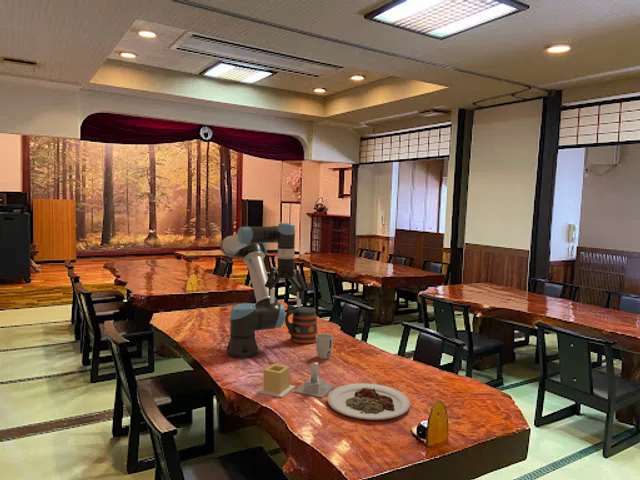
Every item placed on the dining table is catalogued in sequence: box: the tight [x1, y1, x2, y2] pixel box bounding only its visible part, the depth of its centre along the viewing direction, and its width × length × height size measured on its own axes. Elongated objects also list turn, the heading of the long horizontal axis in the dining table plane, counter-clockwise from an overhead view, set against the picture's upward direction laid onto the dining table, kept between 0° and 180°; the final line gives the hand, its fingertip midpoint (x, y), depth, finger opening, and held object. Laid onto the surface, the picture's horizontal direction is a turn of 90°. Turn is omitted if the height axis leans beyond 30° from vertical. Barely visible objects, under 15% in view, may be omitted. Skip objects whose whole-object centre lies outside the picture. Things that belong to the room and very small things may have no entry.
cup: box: [315, 333, 334, 360], centre depth 222 cm, size 8×8×10 cm
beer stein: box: [284, 304, 319, 345], centre depth 247 cm, size 19×15×20 cm
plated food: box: [327, 382, 411, 421], centre depth 172 cm, size 30×30×3 cm
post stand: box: [293, 361, 335, 399], centre depth 184 cm, size 12×12×11 cm
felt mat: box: [256, 384, 297, 399], centre depth 183 cm, size 11×11×1 cm
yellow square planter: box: [262, 363, 291, 394], centre depth 183 cm, size 7×7×8 cm
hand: (285, 304), depth 212 cm, fingers open, 13 cm apart
